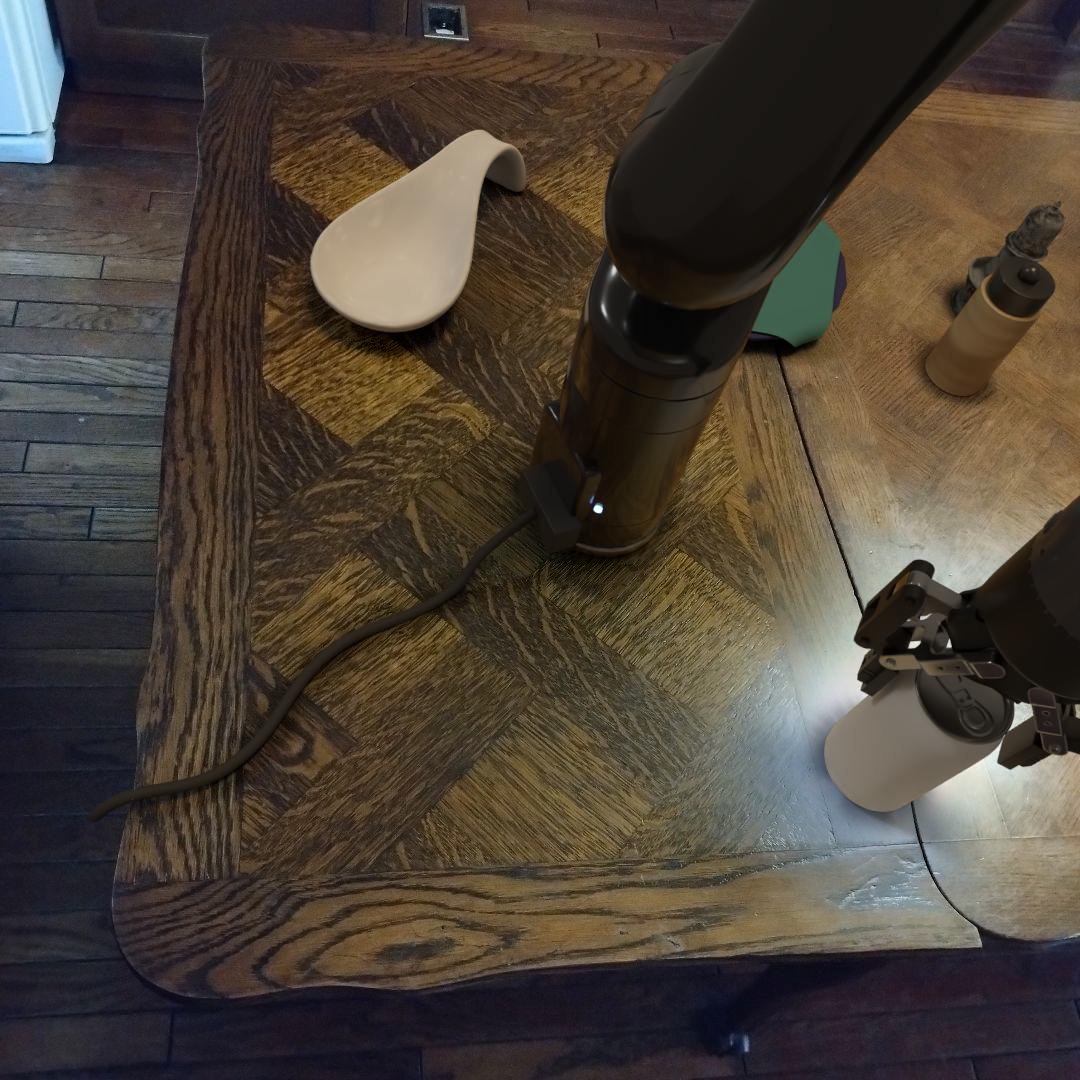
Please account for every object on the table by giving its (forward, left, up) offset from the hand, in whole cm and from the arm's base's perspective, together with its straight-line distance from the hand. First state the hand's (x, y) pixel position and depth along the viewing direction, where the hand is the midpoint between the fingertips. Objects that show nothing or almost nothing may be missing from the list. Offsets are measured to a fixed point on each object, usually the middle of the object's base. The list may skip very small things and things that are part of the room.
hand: (937, 716), depth 57 cm
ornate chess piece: (+34, +31, -9) cm, 47 cm away
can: (0, 0, -9) cm, 9 cm away
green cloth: (+17, +46, -9) cm, 50 cm away
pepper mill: (+26, +26, -8) cm, 38 cm away
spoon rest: (-11, +50, -9) cm, 52 cm away
